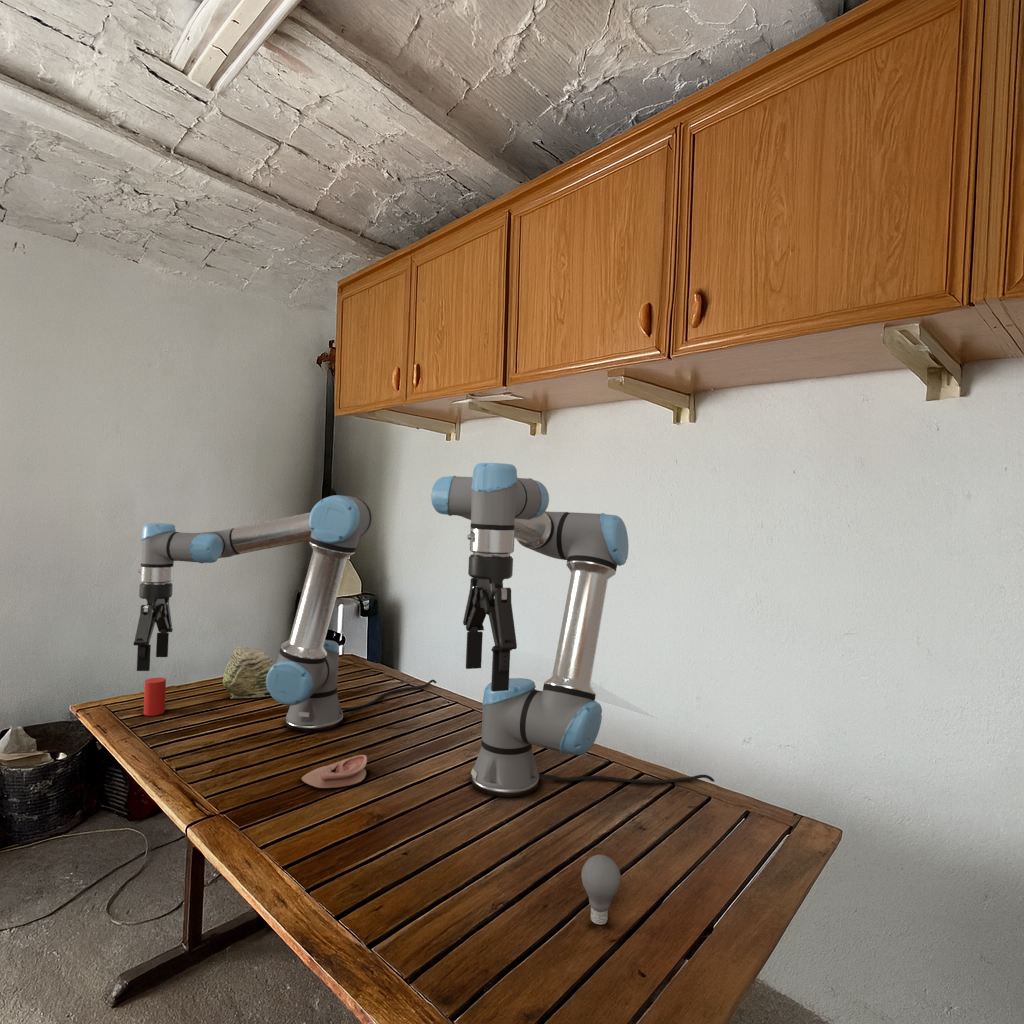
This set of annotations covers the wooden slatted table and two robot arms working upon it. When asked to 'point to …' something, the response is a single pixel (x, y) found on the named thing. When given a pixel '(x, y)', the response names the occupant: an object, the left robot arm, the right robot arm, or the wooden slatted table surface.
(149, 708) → the cylinder
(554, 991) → the wooden slatted table surface
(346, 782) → the anatomical model
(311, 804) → the wooden slatted table surface
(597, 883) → the light bulb
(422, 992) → the wooden slatted table surface
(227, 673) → the fossil
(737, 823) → the wooden slatted table surface
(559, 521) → the right robot arm
